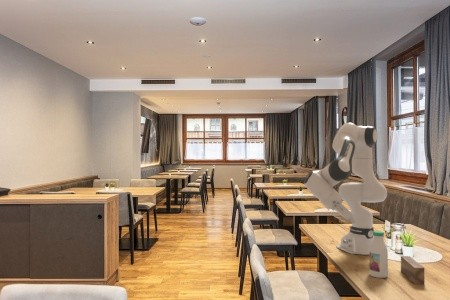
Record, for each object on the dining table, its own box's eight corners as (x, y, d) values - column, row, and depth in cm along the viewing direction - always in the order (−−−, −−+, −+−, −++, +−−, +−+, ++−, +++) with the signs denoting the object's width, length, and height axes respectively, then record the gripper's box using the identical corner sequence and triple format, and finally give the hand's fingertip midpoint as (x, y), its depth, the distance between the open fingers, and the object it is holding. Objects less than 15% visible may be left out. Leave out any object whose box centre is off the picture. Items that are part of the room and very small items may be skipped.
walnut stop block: (414, 284, 157) (414, 267, 157) (400, 270, 175) (400, 255, 175) (424, 284, 156) (424, 268, 156) (409, 271, 174) (409, 256, 174)
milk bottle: (383, 272, 172) (382, 229, 172) (391, 278, 164) (390, 233, 164) (366, 273, 171) (366, 230, 171) (373, 278, 164) (373, 233, 164)
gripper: (341, 198, 160) (364, 221, 158) (334, 193, 180) (355, 214, 179) (330, 208, 161) (353, 231, 159) (324, 202, 181) (345, 223, 179)
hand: (354, 222), depth 169 cm, fingers closed
